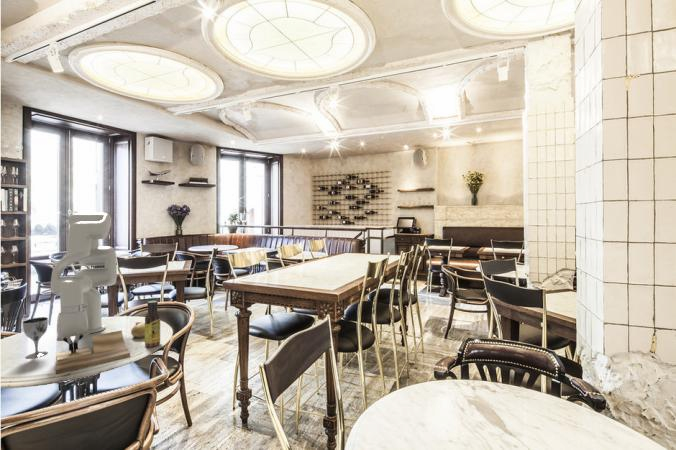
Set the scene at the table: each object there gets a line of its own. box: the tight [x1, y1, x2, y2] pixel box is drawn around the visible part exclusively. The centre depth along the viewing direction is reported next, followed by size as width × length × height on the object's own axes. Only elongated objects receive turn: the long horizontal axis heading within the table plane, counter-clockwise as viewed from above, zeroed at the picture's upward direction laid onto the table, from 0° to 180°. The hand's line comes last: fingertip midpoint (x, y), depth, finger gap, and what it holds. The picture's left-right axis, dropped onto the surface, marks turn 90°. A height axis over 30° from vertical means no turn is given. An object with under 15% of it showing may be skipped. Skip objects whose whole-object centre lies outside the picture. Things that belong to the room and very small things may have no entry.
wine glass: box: [22, 316, 49, 360], centre depth 143 cm, size 8×8×15 cm
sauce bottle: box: [144, 300, 161, 348], centre depth 154 cm, size 6×6×20 cm
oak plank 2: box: [91, 330, 126, 354], centre depth 149 cm, size 10×11×1 cm
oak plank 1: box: [56, 346, 92, 362], centre depth 142 cm, size 10×11×1 cm
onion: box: [130, 321, 145, 339], centre depth 165 cm, size 8×8×7 cm
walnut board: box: [54, 346, 131, 375], centre depth 138 cm, size 9×24×1 cm, turn 130°
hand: (73, 351), depth 144 cm, fingers closed
